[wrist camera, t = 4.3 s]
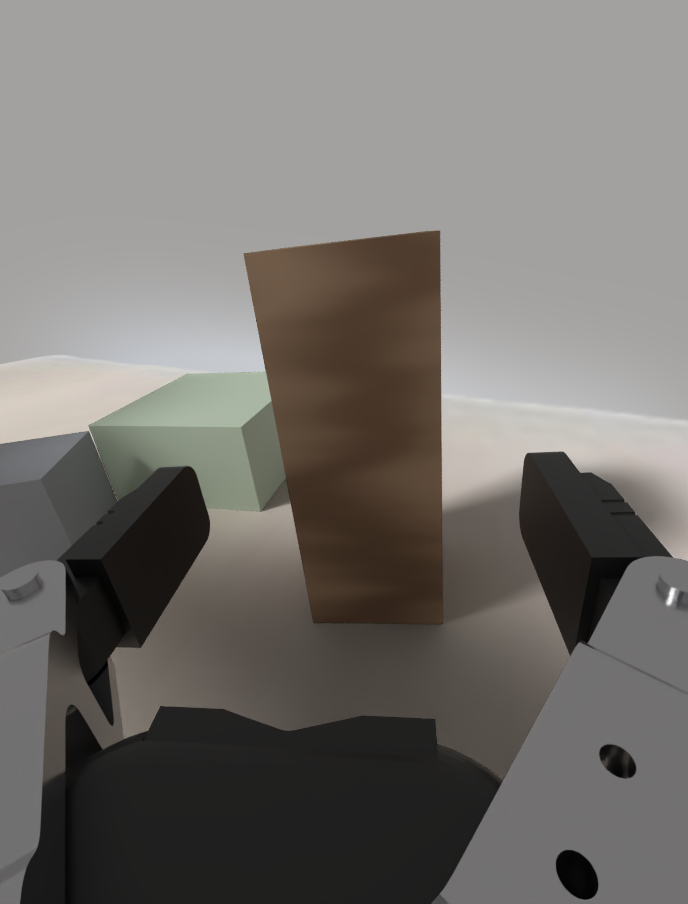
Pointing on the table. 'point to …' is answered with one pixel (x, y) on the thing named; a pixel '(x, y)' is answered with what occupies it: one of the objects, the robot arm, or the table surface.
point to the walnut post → (359, 418)
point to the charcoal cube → (49, 497)
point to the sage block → (199, 438)
